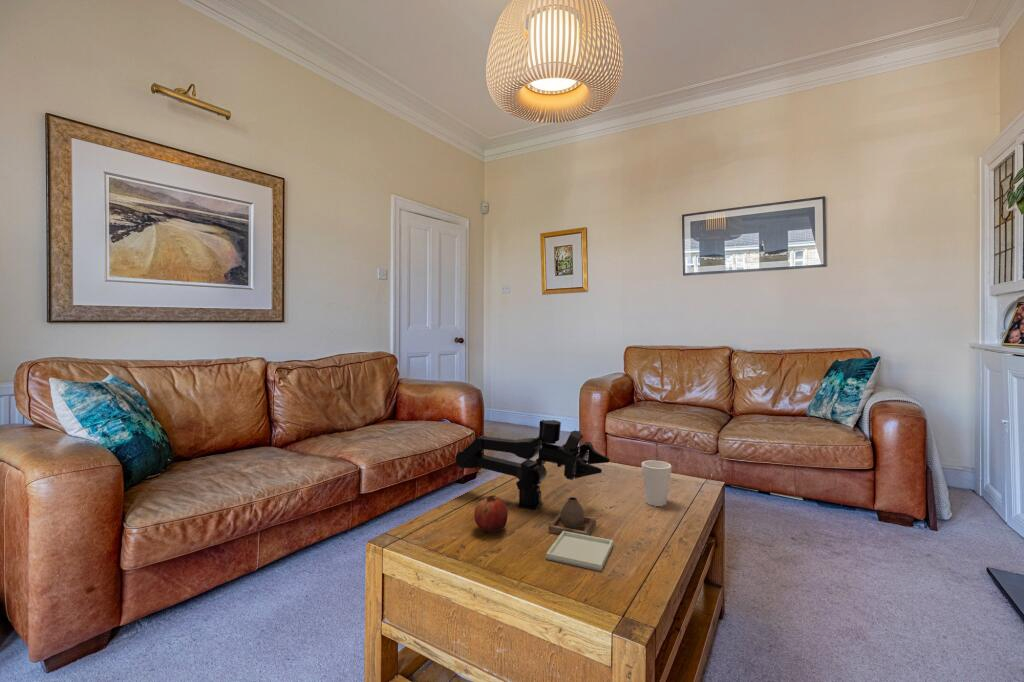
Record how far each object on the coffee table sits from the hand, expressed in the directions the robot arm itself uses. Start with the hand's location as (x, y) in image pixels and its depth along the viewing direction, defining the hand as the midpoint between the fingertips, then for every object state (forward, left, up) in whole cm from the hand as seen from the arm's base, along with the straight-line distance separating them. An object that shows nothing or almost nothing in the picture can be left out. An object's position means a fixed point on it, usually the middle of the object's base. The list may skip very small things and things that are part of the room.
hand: (605, 465), depth 137 cm
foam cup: (+13, +20, -17) cm, 29 cm away
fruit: (-28, -21, -17) cm, 39 cm away
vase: (-7, -10, -17) cm, 21 cm away
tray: (-1, -23, -17) cm, 28 cm away
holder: (-7, -10, -17) cm, 21 cm away
